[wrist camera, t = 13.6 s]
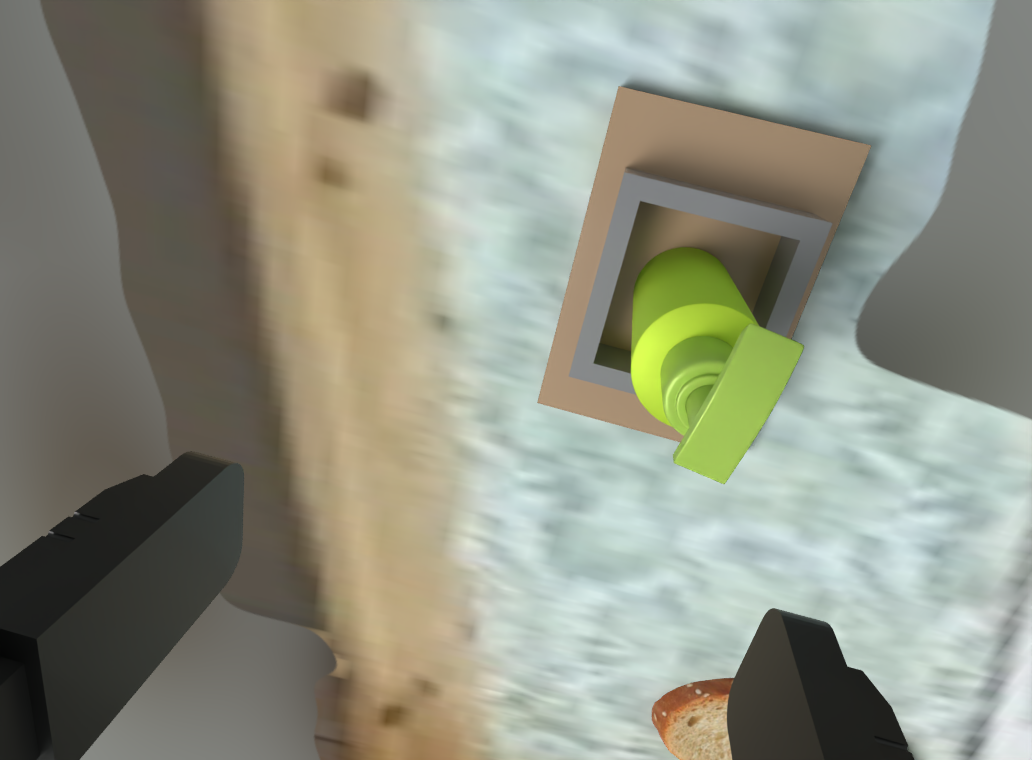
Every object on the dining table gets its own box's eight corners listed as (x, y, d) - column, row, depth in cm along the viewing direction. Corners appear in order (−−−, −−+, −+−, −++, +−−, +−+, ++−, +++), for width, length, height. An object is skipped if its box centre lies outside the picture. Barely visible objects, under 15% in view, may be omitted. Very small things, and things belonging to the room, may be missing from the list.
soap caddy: (619, 87, 37) (616, 82, 32) (862, 144, 36) (898, 148, 31) (540, 394, 45) (528, 428, 40) (738, 448, 44) (751, 490, 39)
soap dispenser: (759, 253, 38) (870, 376, 20) (704, 355, 41) (756, 545, 23) (666, 215, 38) (691, 301, 20) (617, 319, 41) (600, 479, 23)
